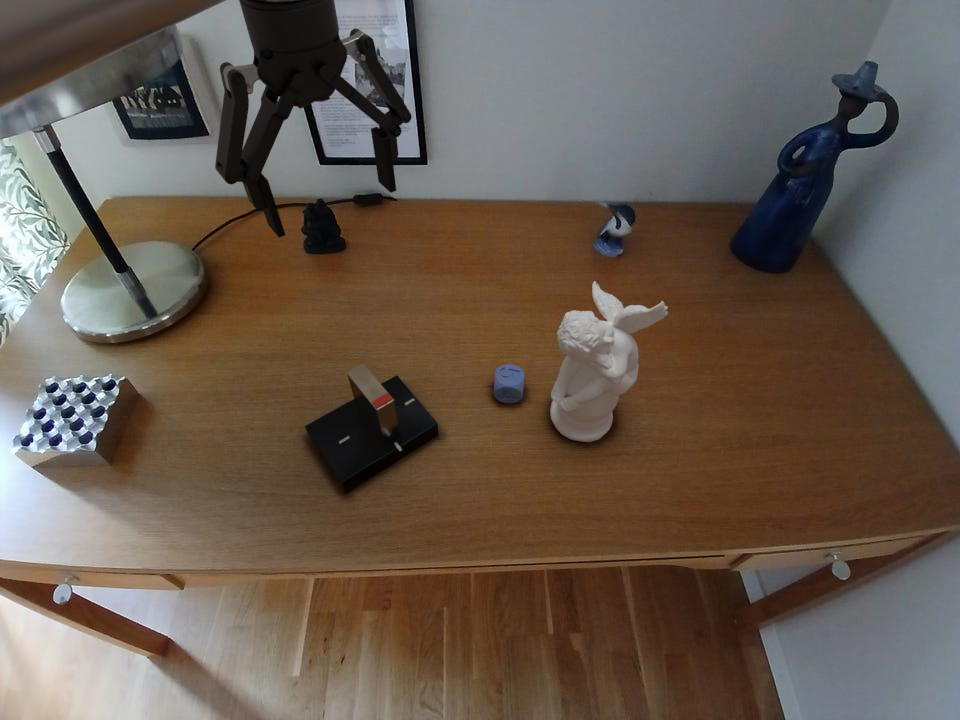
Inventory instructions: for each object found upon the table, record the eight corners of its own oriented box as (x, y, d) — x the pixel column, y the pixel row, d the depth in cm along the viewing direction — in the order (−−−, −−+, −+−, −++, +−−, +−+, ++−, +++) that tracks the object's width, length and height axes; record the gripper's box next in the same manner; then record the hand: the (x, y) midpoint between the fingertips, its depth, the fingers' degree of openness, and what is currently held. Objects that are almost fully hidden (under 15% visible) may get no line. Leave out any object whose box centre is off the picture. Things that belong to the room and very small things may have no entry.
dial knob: (356, 407, 73) (346, 371, 68) (371, 398, 74) (363, 362, 68) (384, 444, 70) (376, 409, 64) (400, 434, 71) (393, 398, 65)
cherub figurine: (543, 443, 74) (565, 331, 57) (536, 370, 82) (554, 252, 65) (634, 443, 74) (683, 331, 57) (618, 370, 82) (657, 253, 65)
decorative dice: (521, 404, 78) (523, 387, 75) (493, 402, 78) (494, 385, 75) (523, 382, 80) (525, 364, 77) (495, 379, 81) (496, 362, 77)
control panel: (348, 497, 69) (343, 485, 66) (307, 435, 74) (301, 422, 72) (441, 438, 74) (440, 425, 72) (396, 385, 80) (394, 371, 77)
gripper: (138, 37, 38) (238, 270, 55) (437, -31, 48) (446, 184, 64) (109, 4, 42) (211, 232, 59) (392, -53, 52) (411, 156, 68)
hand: (334, 207), depth 62 cm, fingers open, 13 cm apart
